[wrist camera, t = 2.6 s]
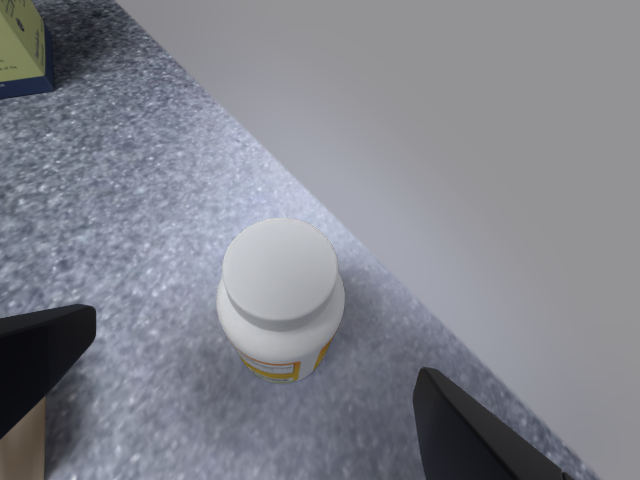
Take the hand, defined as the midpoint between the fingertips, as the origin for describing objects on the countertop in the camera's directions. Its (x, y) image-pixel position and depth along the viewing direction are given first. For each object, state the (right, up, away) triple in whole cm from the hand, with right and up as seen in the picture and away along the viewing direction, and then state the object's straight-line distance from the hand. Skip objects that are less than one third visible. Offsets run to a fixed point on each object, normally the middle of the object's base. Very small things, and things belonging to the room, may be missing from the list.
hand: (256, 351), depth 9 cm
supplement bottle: (0, -3, +11) cm, 11 cm away
